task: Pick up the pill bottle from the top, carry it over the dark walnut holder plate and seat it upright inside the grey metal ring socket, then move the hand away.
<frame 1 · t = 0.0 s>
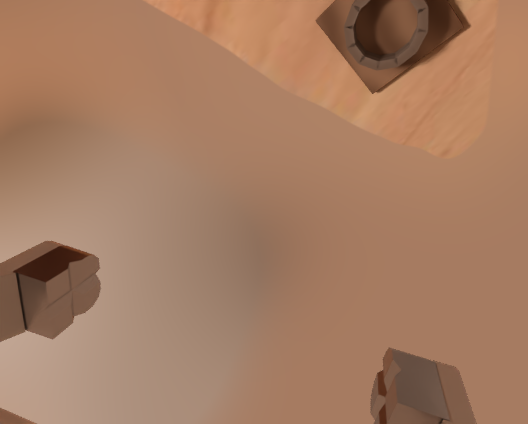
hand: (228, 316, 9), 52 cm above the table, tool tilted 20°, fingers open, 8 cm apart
holder: (386, 22, 48), on the table
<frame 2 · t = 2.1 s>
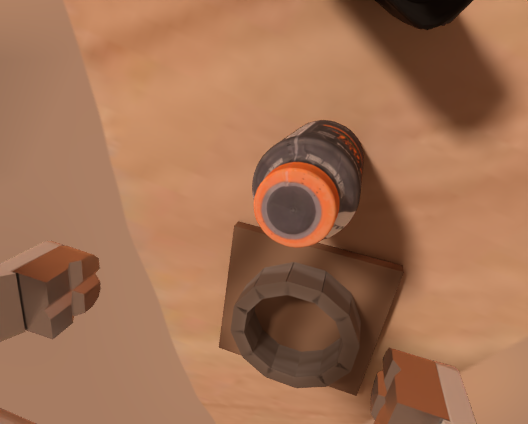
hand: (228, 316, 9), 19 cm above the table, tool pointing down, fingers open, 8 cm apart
pill bottle: (323, 158, 26), on the table
holder: (300, 308, 31), on the table
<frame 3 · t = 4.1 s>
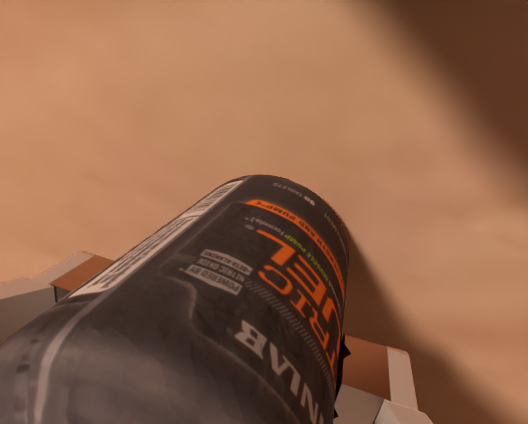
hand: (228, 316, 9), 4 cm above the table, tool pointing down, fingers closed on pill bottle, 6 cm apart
pill bottle: (269, 245, 13), on the table, touching gripper
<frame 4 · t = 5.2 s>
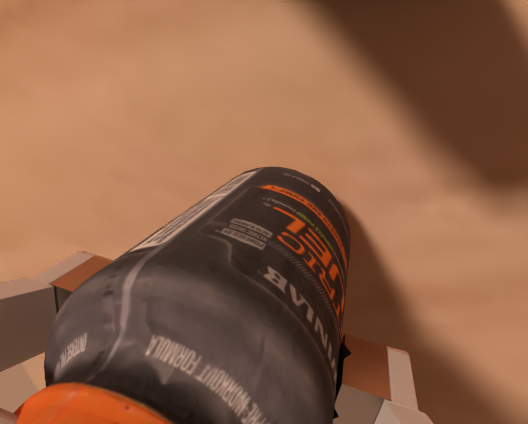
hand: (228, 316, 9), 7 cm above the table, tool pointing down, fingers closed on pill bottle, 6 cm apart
pill bottle: (279, 231, 14), point 1 cm above the table, touching gripper
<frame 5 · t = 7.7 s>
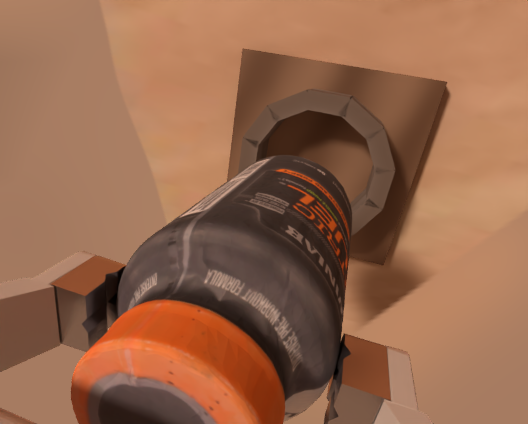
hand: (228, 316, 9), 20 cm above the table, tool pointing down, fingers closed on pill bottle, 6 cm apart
pill bottle: (289, 213, 16), point 12 cm above the table, touching gripper
holder: (318, 160, 27), on the table
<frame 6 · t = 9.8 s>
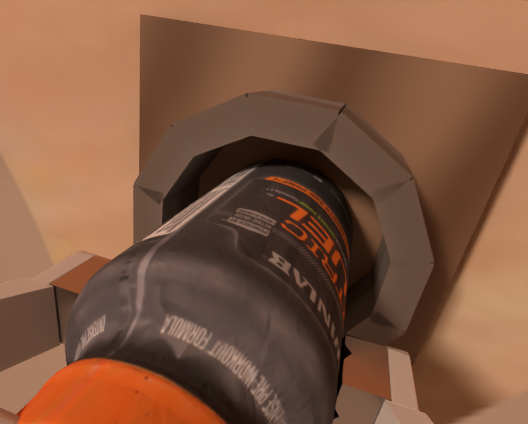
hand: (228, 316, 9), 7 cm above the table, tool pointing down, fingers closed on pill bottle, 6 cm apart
pill bottle: (283, 222, 15), point 1 cm above the table, touching gripper, holder
holder: (288, 214, 15), on the table
when the fingers open (7 cm above the table, at t = 10.8 s): pill bottle stays where it is, resting on holder.
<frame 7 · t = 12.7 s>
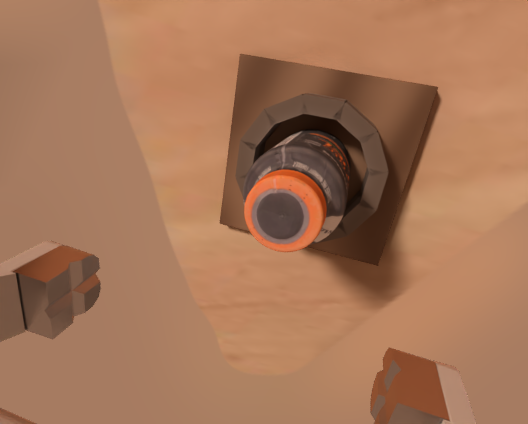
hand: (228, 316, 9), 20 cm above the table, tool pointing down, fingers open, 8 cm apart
pill bottle: (312, 165, 27), point 1 cm above the table, touching holder
holder: (314, 162, 27), on the table
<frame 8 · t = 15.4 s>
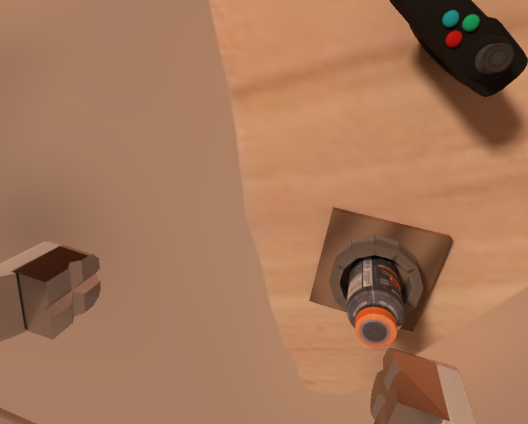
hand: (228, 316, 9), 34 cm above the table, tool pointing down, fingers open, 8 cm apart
pill bottle: (373, 272, 44), point 1 cm above the table, touching holder
controller: (439, 39, 34), on the table
holder: (373, 269, 44), on the table
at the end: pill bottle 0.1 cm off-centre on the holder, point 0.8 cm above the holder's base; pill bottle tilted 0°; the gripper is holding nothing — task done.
